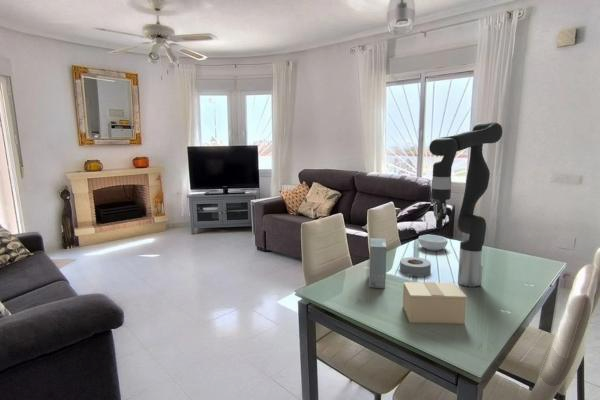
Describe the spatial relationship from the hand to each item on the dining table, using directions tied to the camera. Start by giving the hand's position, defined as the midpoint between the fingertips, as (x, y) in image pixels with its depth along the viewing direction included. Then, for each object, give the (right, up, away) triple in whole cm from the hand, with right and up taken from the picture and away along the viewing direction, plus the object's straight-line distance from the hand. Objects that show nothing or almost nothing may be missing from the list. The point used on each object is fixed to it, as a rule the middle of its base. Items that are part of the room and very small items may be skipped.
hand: (439, 228), depth 143 cm
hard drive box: (-21, -28, +23) cm, 42 cm away
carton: (-7, -33, -10) cm, 35 cm away
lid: (-7, -23, -12) cm, 27 cm away
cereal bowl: (+25, -19, +72) cm, 79 cm away
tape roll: (+2, -26, +37) cm, 45 cm away
